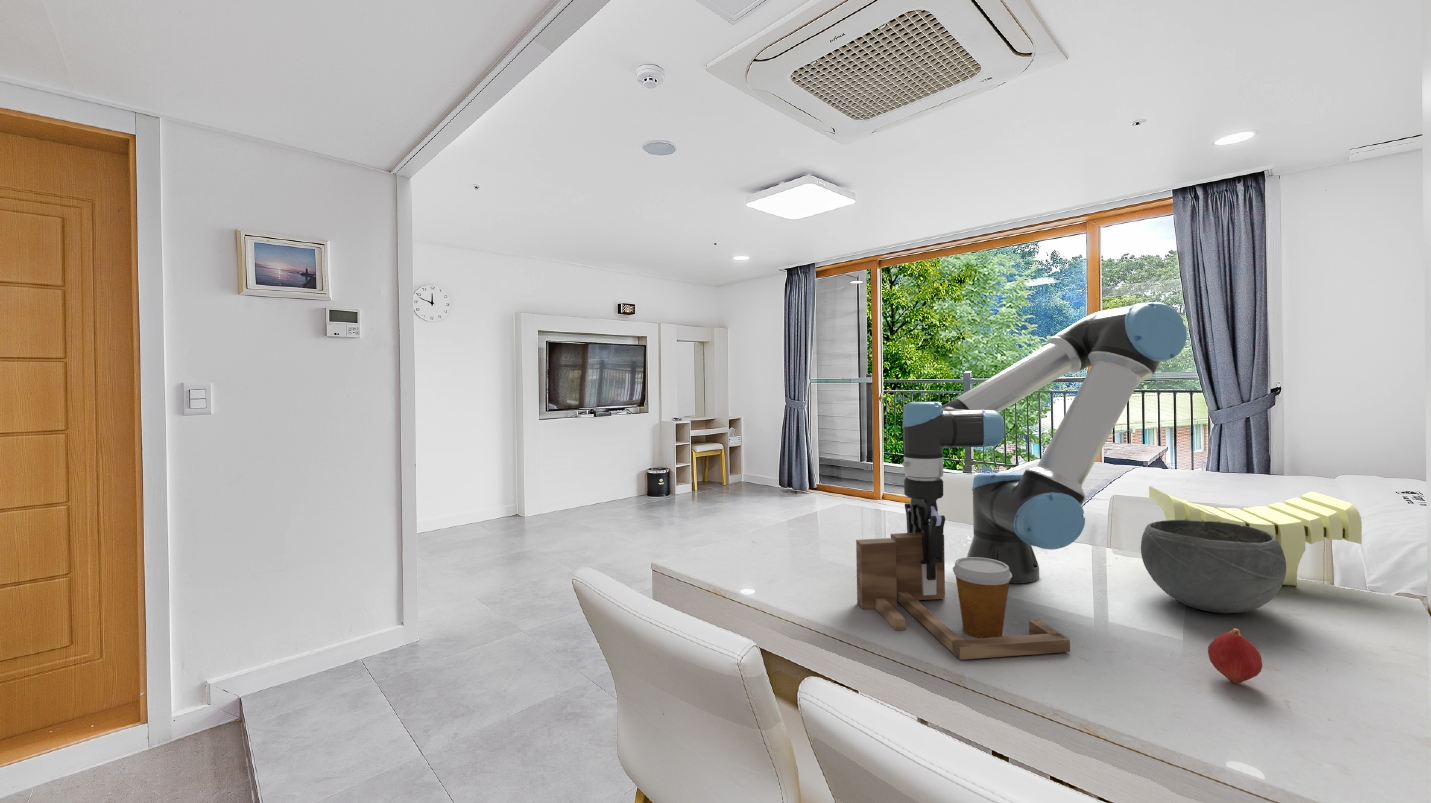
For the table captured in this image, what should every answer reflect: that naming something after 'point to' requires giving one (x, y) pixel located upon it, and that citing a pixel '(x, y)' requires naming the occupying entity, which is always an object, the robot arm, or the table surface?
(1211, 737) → the table surface
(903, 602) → the bent wooden rail
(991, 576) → the disposable coffee cup
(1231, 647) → the onion
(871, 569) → the wooden mallet
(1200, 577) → the bowl
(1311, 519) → the slatted curved stool
